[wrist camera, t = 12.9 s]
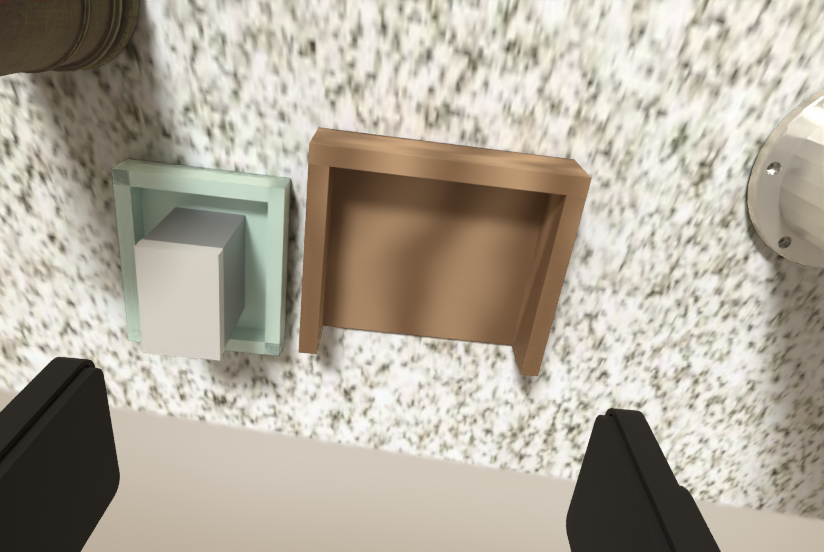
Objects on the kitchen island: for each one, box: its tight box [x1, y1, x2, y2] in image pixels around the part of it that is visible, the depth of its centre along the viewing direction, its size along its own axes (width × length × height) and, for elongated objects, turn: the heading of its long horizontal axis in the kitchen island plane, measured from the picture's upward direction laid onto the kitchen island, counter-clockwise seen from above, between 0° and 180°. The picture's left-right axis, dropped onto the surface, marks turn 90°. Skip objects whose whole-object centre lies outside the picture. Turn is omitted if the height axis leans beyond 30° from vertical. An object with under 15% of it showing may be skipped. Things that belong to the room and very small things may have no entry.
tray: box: [112, 159, 291, 356], centre depth 40 cm, size 10×12×2 cm
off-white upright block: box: [134, 207, 245, 360], centre depth 37 cm, size 5×7×6 cm, turn 173°
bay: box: [299, 128, 592, 376], centre depth 39 cm, size 16×14×4 cm
